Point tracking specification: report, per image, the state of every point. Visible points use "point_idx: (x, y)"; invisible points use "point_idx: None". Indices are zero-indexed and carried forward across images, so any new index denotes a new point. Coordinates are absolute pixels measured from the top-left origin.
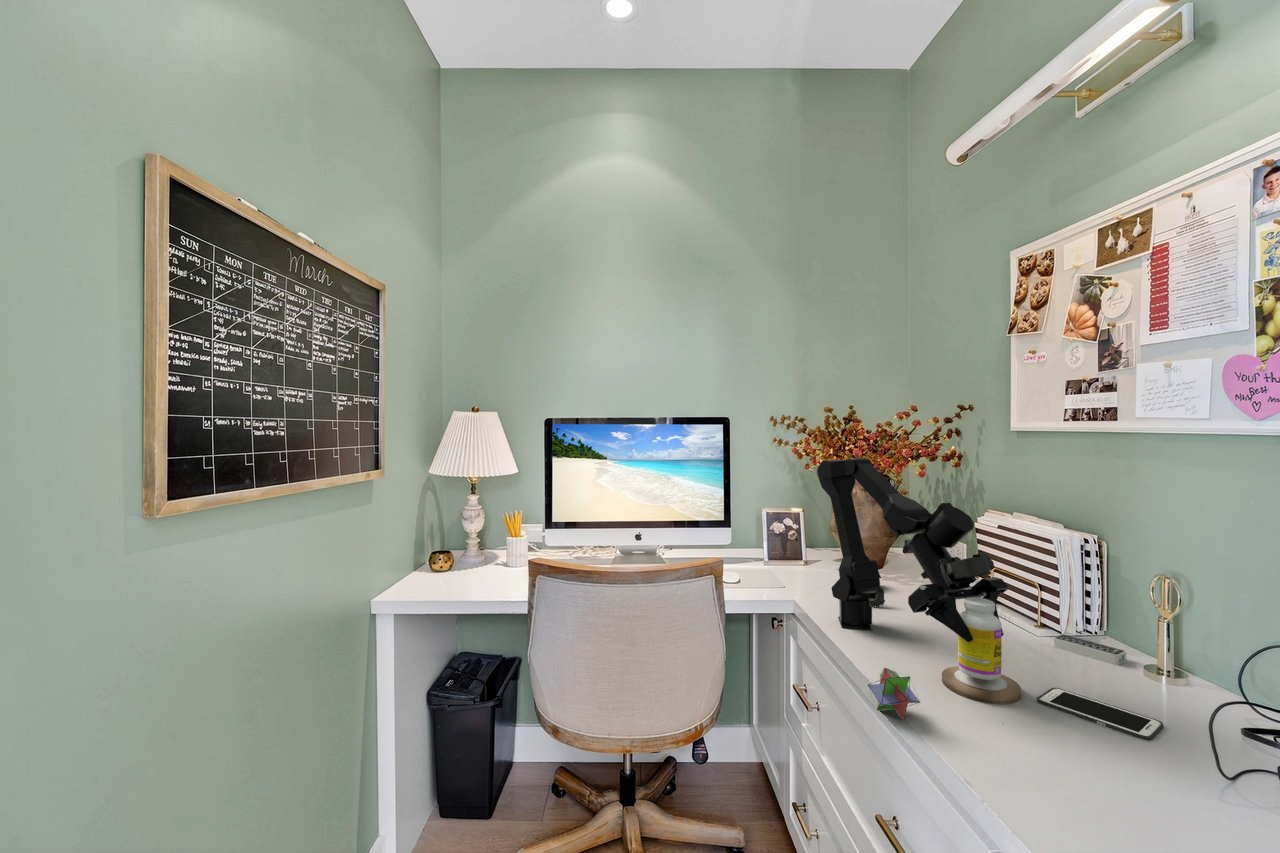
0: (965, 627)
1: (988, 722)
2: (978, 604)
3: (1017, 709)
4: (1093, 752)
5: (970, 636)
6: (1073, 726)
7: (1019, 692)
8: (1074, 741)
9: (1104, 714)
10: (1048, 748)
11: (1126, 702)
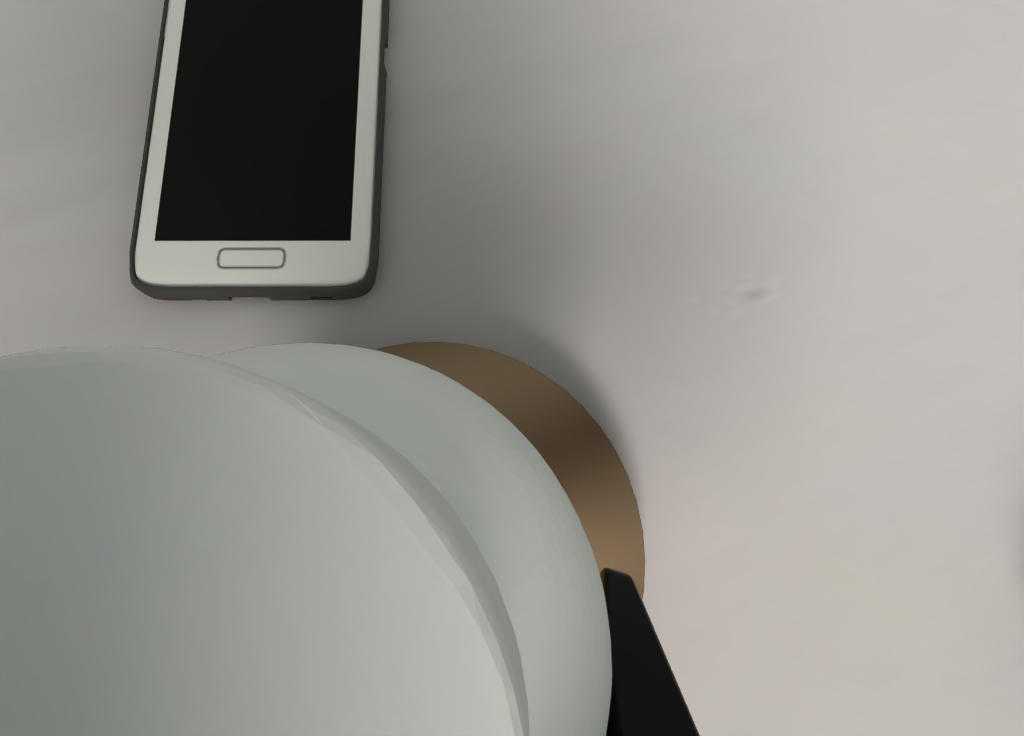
0: (650, 693)
1: (796, 338)
2: (469, 653)
3: (538, 316)
4: (663, 13)
5: (632, 591)
6: (498, 117)
7: (406, 345)
8: (635, 75)
9: (293, 58)
10: (787, 111)
11: (30, 62)
